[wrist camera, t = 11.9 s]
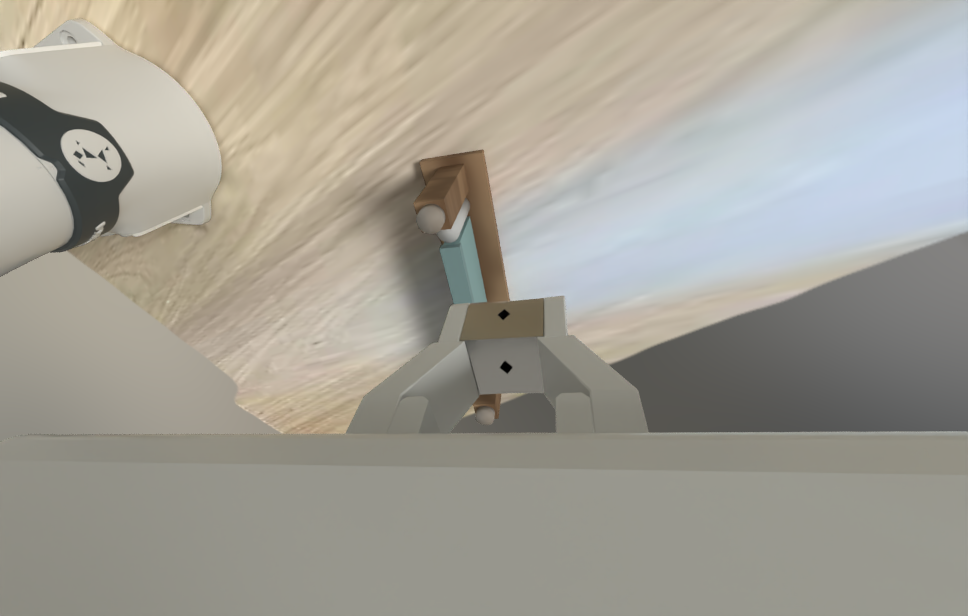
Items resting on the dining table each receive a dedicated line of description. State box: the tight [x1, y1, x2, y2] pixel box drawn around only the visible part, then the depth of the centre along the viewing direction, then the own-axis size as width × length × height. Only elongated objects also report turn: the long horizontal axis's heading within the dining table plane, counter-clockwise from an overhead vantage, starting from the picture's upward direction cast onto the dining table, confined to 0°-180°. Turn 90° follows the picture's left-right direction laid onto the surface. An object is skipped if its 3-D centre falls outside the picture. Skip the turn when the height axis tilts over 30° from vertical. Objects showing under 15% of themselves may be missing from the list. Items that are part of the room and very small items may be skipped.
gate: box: [437, 198, 487, 304], centre depth 40 cm, size 19×2×7 cm, turn 10°
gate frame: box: [413, 150, 510, 425], centre depth 40 cm, size 6×27×11 cm, turn 10°
